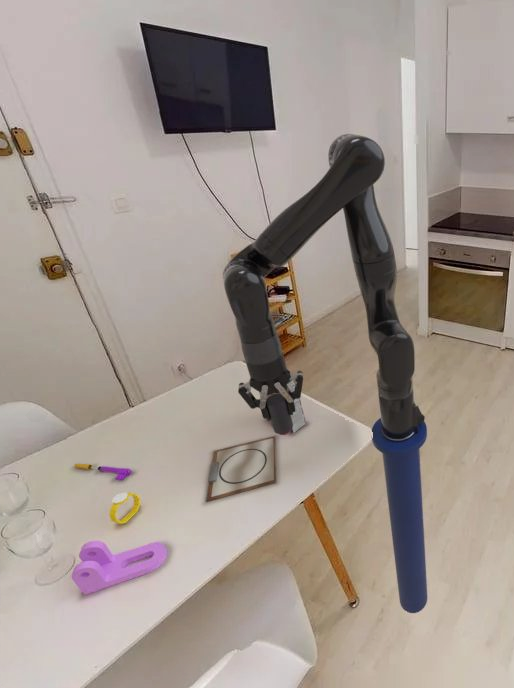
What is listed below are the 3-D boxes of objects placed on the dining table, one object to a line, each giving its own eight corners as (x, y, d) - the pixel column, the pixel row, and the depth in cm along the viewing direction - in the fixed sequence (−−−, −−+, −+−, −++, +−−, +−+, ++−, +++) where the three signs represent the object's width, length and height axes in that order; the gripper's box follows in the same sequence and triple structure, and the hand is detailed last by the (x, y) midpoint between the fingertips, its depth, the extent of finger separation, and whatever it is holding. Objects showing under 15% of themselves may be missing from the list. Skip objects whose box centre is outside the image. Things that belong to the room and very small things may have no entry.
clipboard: (275, 437, 109) (274, 433, 109) (276, 482, 96) (275, 479, 96) (214, 452, 105) (212, 448, 104) (206, 502, 92) (205, 498, 91)
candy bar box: (266, 420, 115) (252, 373, 107) (280, 410, 119) (267, 364, 111) (293, 435, 110) (280, 386, 102) (307, 424, 113) (295, 376, 105)
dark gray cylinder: (293, 422, 99) (285, 391, 94) (294, 434, 95) (286, 402, 90) (274, 426, 98) (265, 395, 93) (274, 439, 94) (265, 407, 89)
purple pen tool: (133, 470, 100) (78, 464, 102) (130, 468, 99) (75, 461, 102) (126, 481, 98) (69, 474, 101) (123, 478, 97) (66, 471, 100)
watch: (124, 529, 86) (112, 511, 83) (113, 527, 87) (101, 509, 84) (146, 505, 92) (136, 487, 89) (136, 503, 92) (125, 485, 89)
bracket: (84, 595, 75) (67, 573, 72) (93, 567, 79) (77, 545, 76) (164, 567, 79) (151, 545, 76) (169, 542, 84) (156, 520, 80)
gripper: (225, 370, 81) (246, 434, 89) (299, 355, 85) (313, 418, 93) (228, 351, 87) (248, 412, 95) (297, 338, 91) (310, 398, 99)
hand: (280, 415), depth 94 cm, fingers closed on dark gray cylinder, 4 cm apart
